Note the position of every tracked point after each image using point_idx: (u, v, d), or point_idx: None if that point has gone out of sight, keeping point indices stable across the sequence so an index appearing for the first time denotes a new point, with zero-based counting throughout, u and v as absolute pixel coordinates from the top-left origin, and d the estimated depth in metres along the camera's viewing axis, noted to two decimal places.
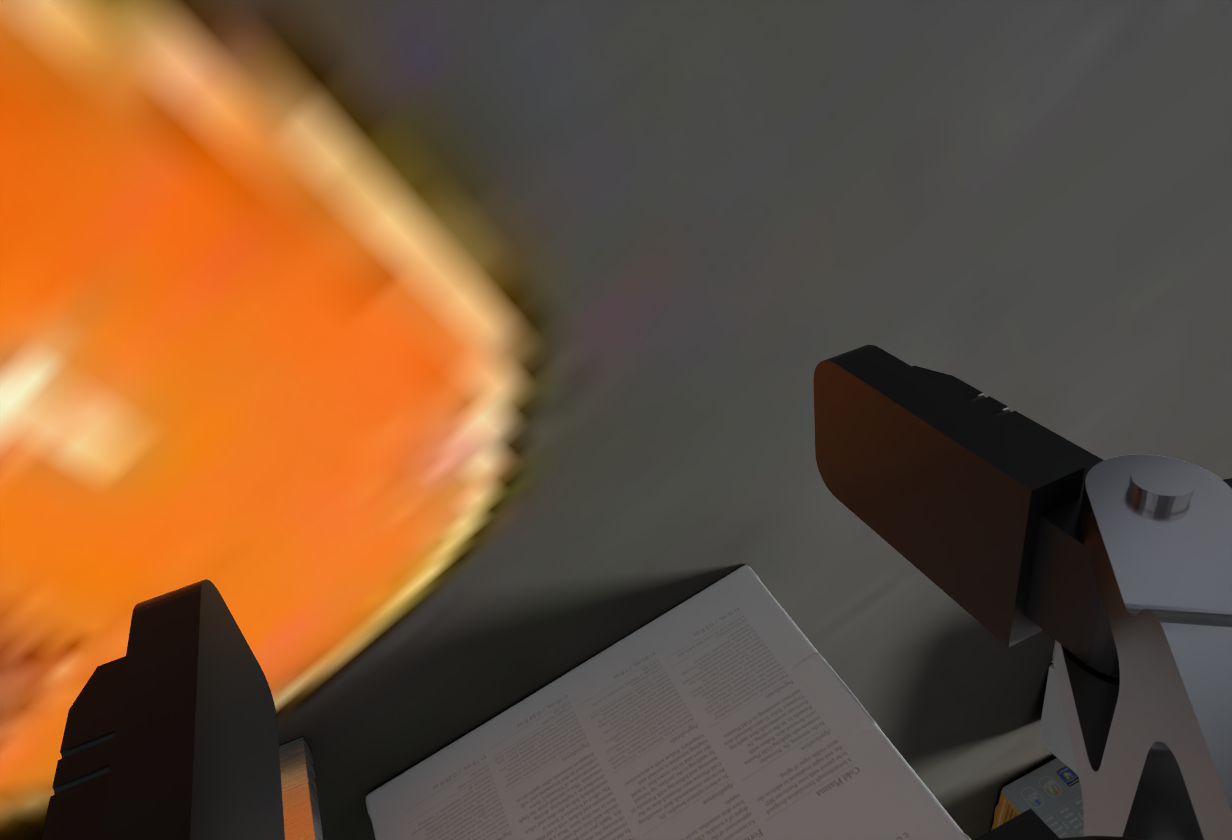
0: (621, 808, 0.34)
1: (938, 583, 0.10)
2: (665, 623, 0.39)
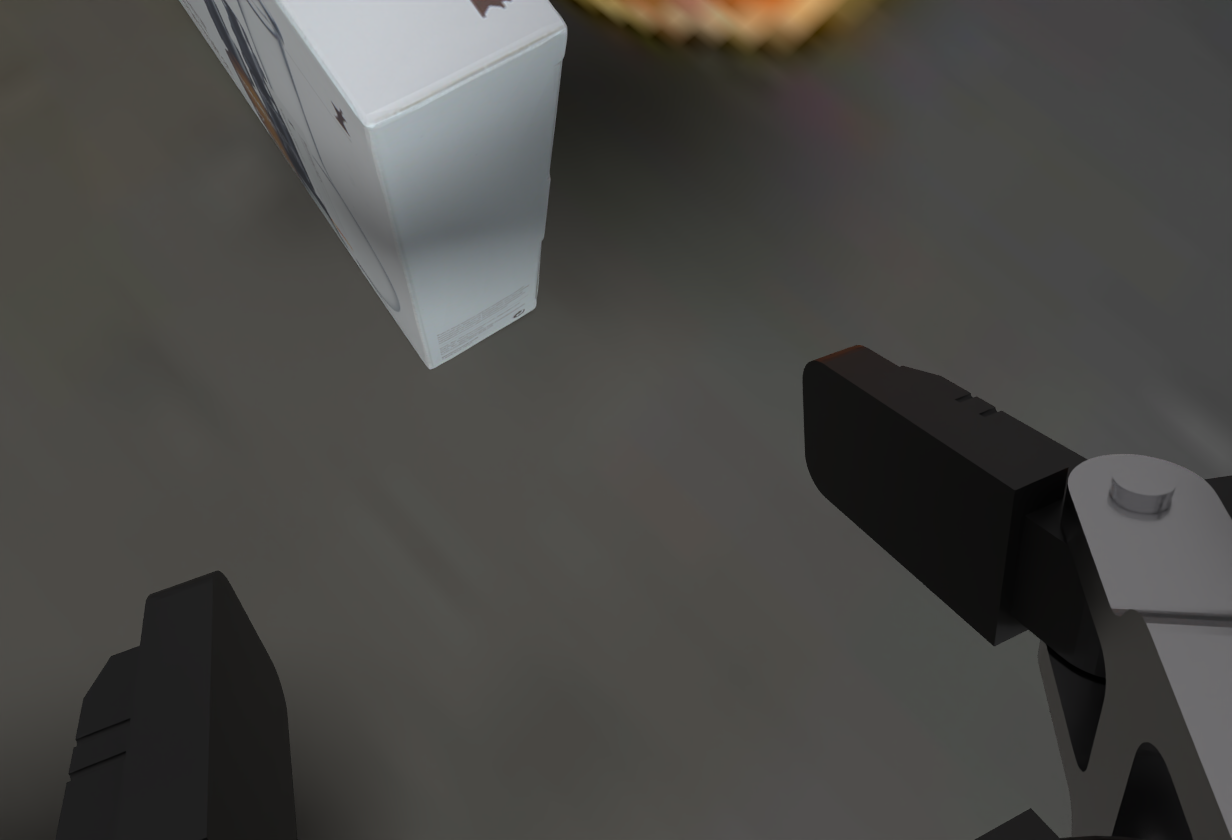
0: None
1: (925, 582, 0.10)
2: None
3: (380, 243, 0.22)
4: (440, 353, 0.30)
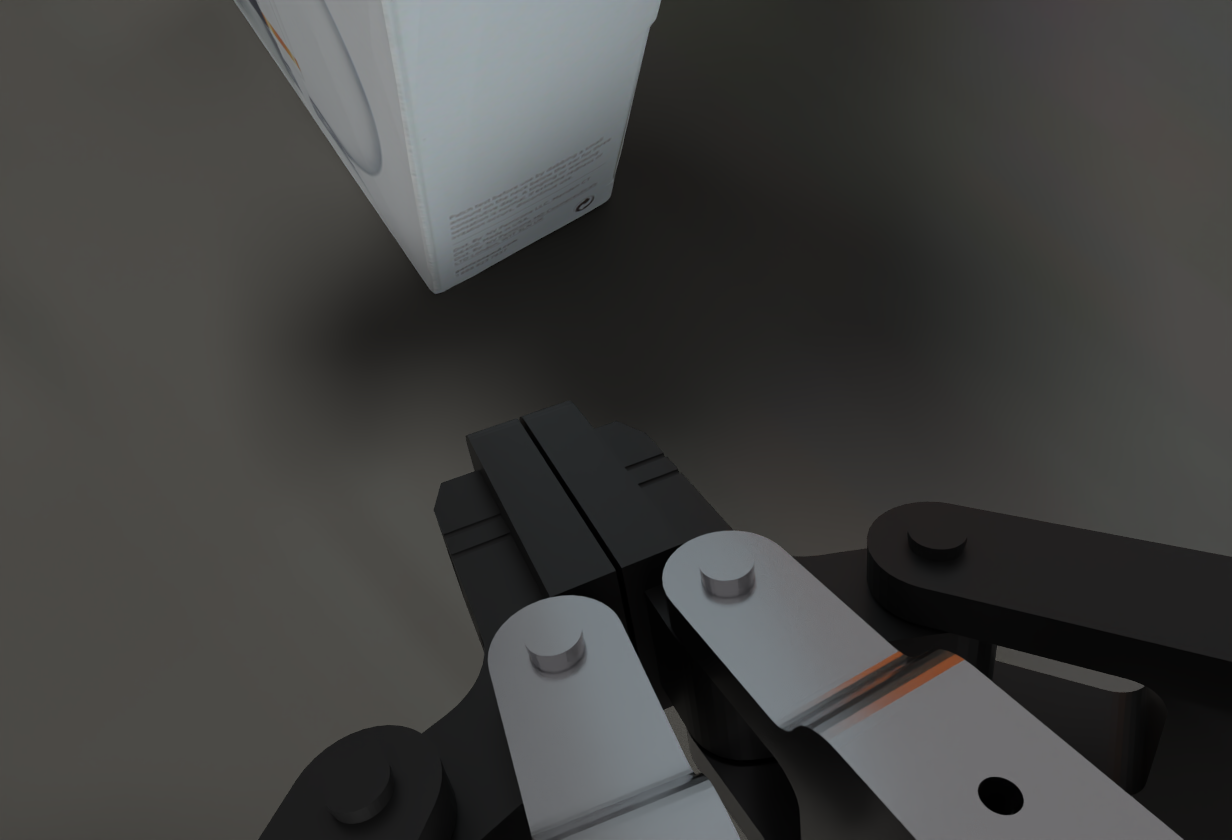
0: None
1: None
2: None
3: None
4: (453, 261, 0.17)
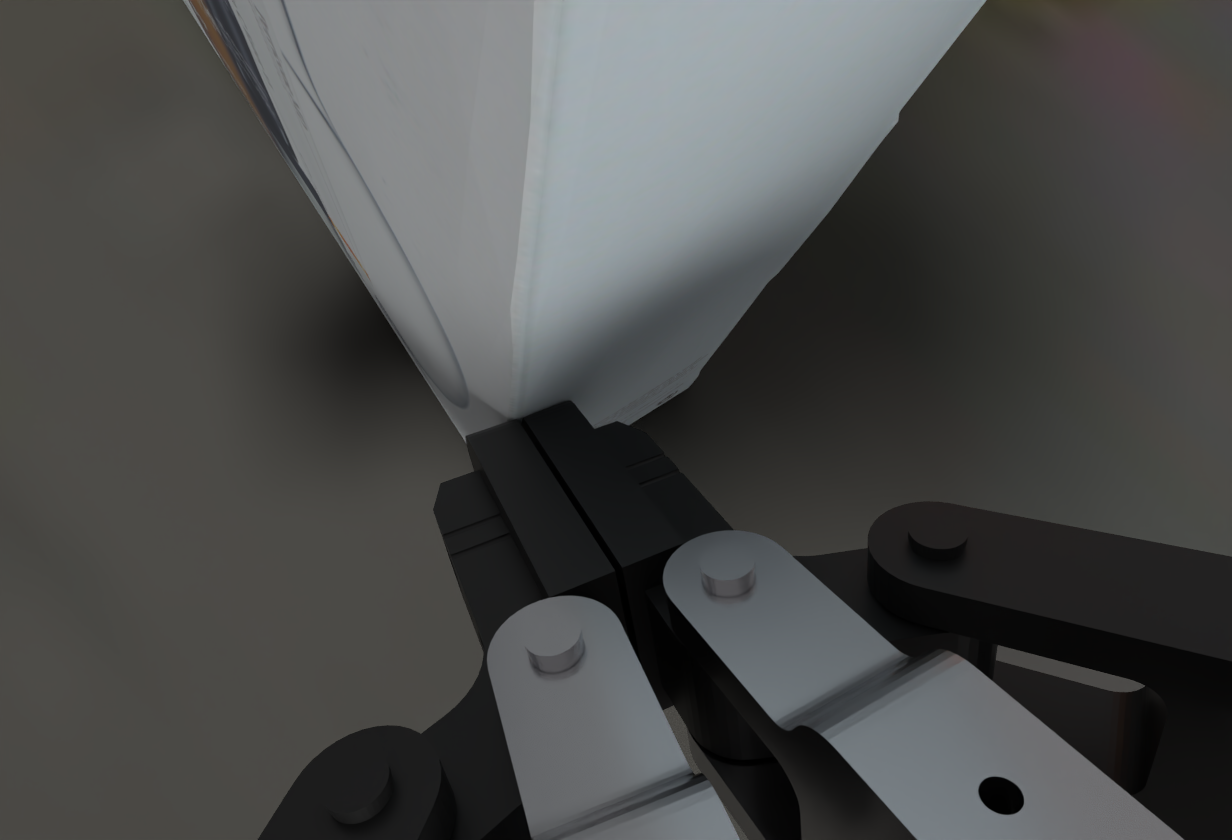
0: None
1: None
2: None
3: (453, 280, 0.08)
4: None
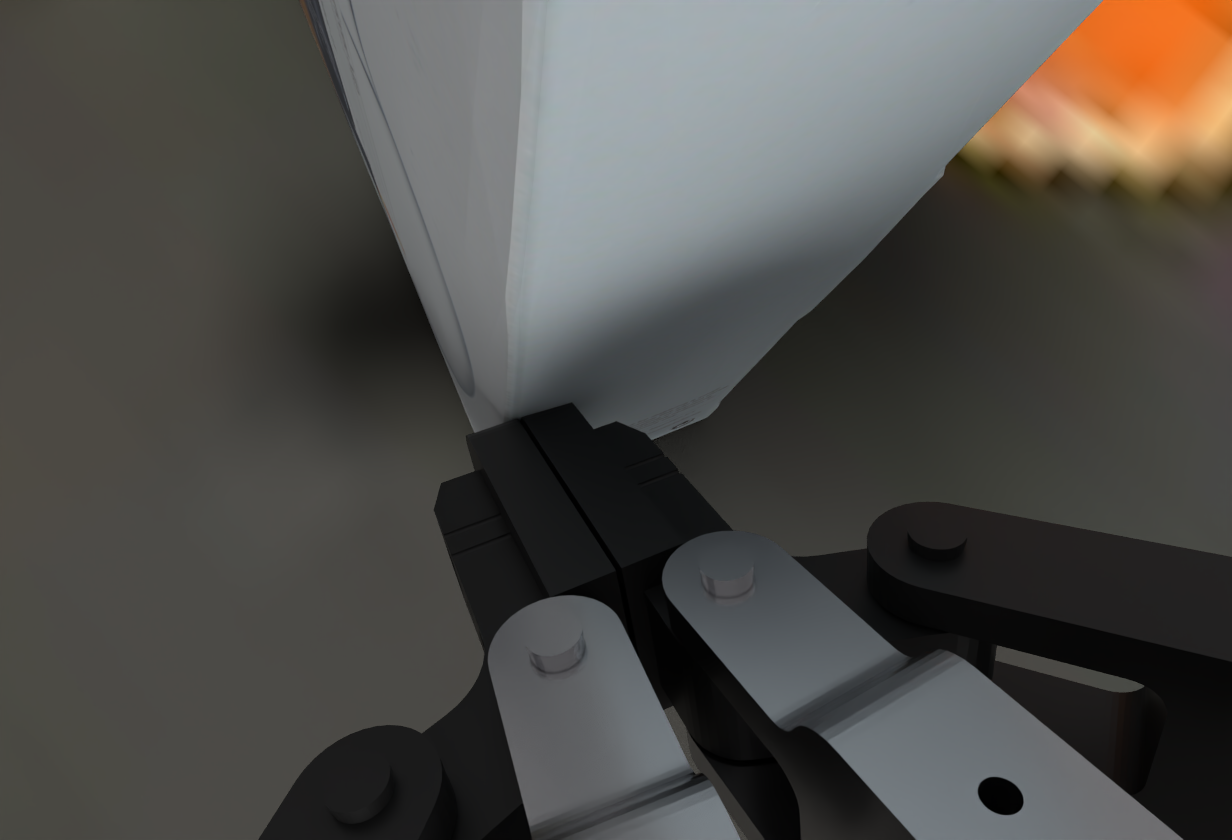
0: None
1: None
2: None
3: (462, 261, 0.08)
4: None
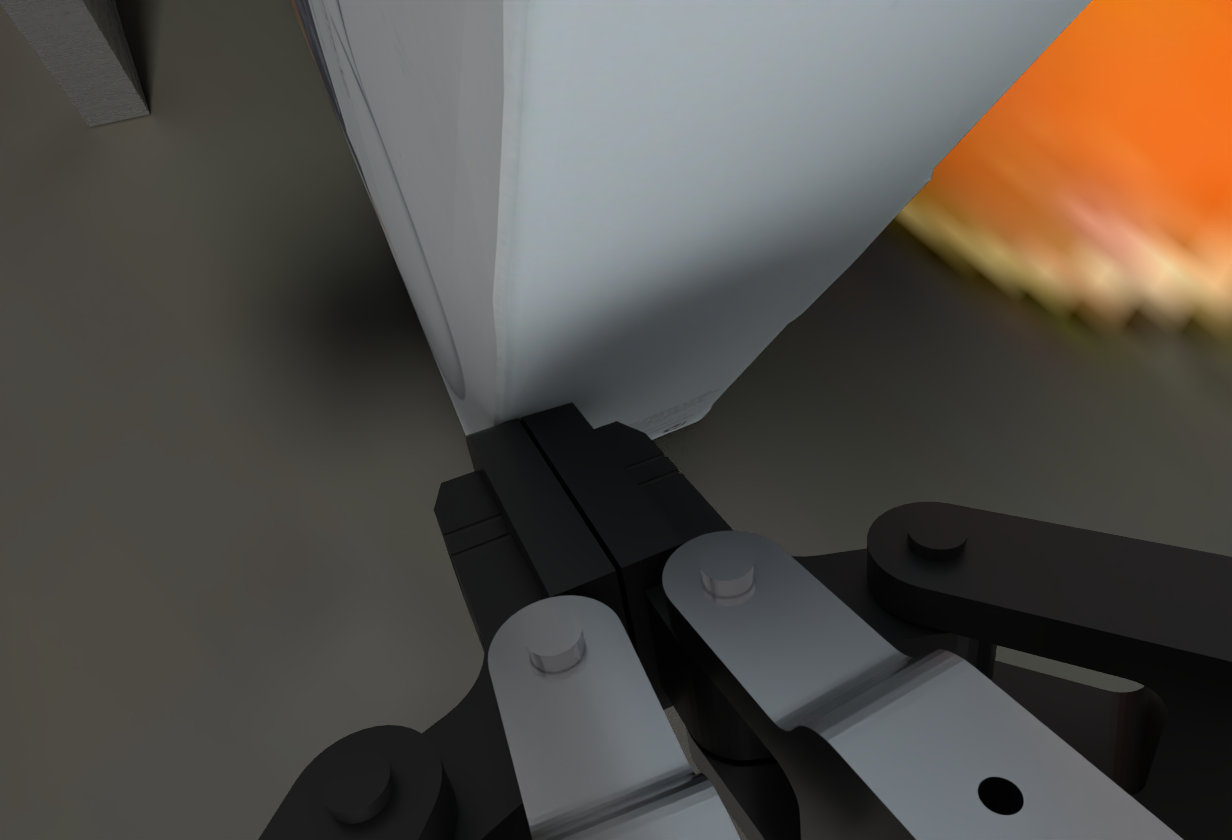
0: None
1: None
2: None
3: (450, 264, 0.08)
4: None
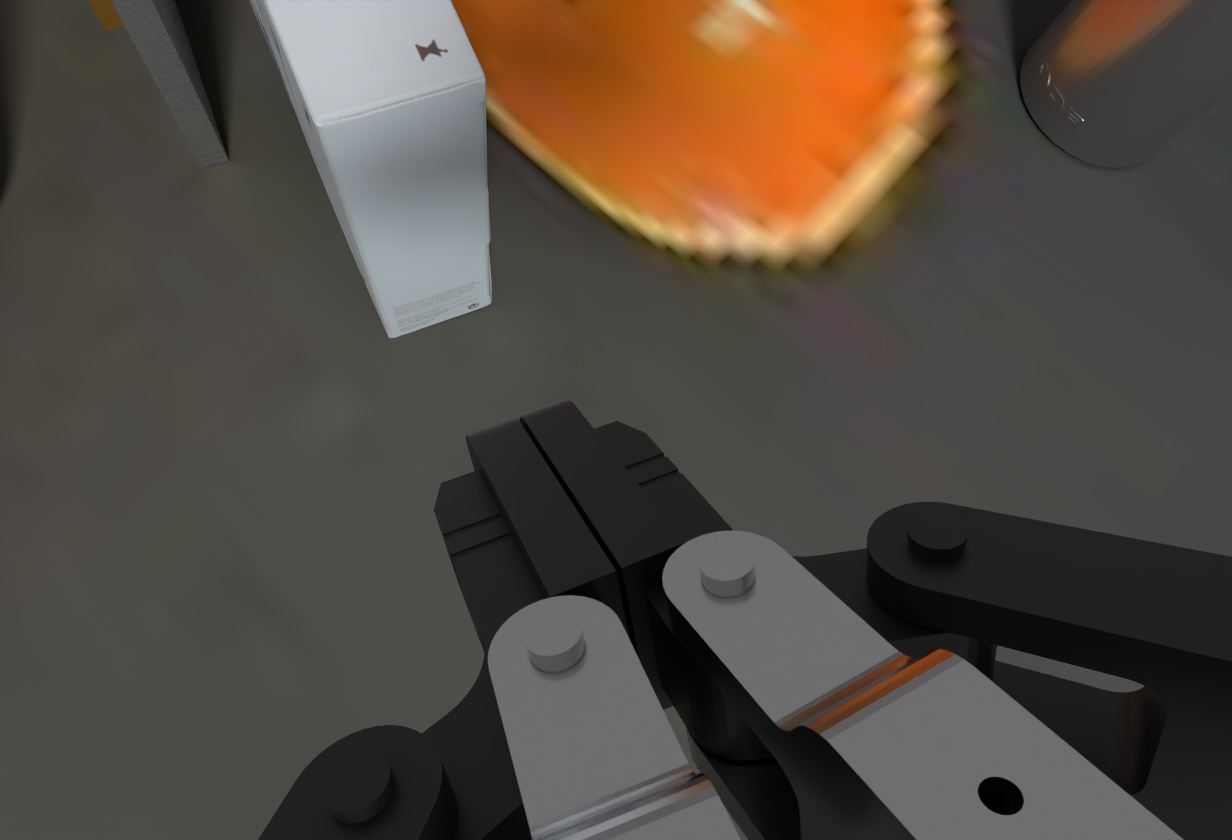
0: None
1: None
2: None
3: (343, 220, 0.28)
4: (398, 325, 0.35)
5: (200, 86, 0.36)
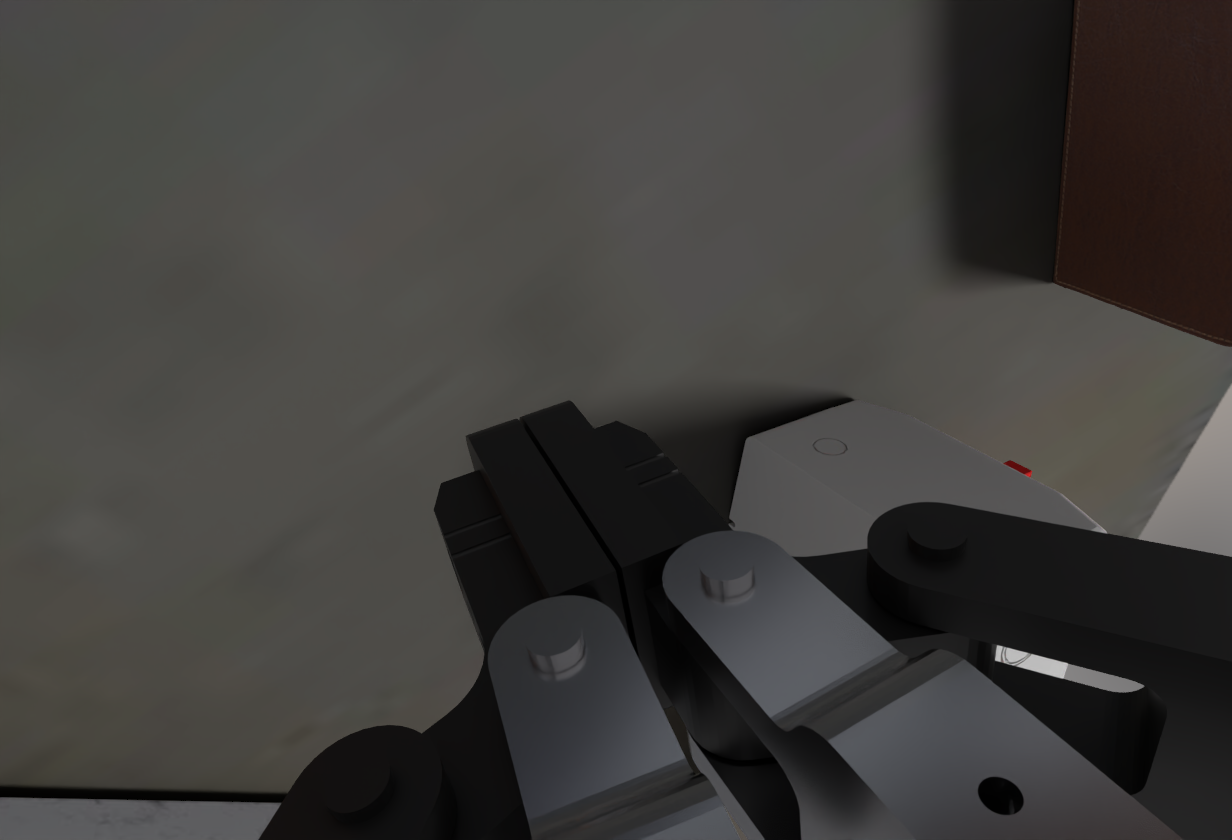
0: None
1: None
2: None
3: None
4: None
5: None
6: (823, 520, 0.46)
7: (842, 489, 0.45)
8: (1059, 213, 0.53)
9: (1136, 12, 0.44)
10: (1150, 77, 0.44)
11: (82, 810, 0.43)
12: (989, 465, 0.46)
